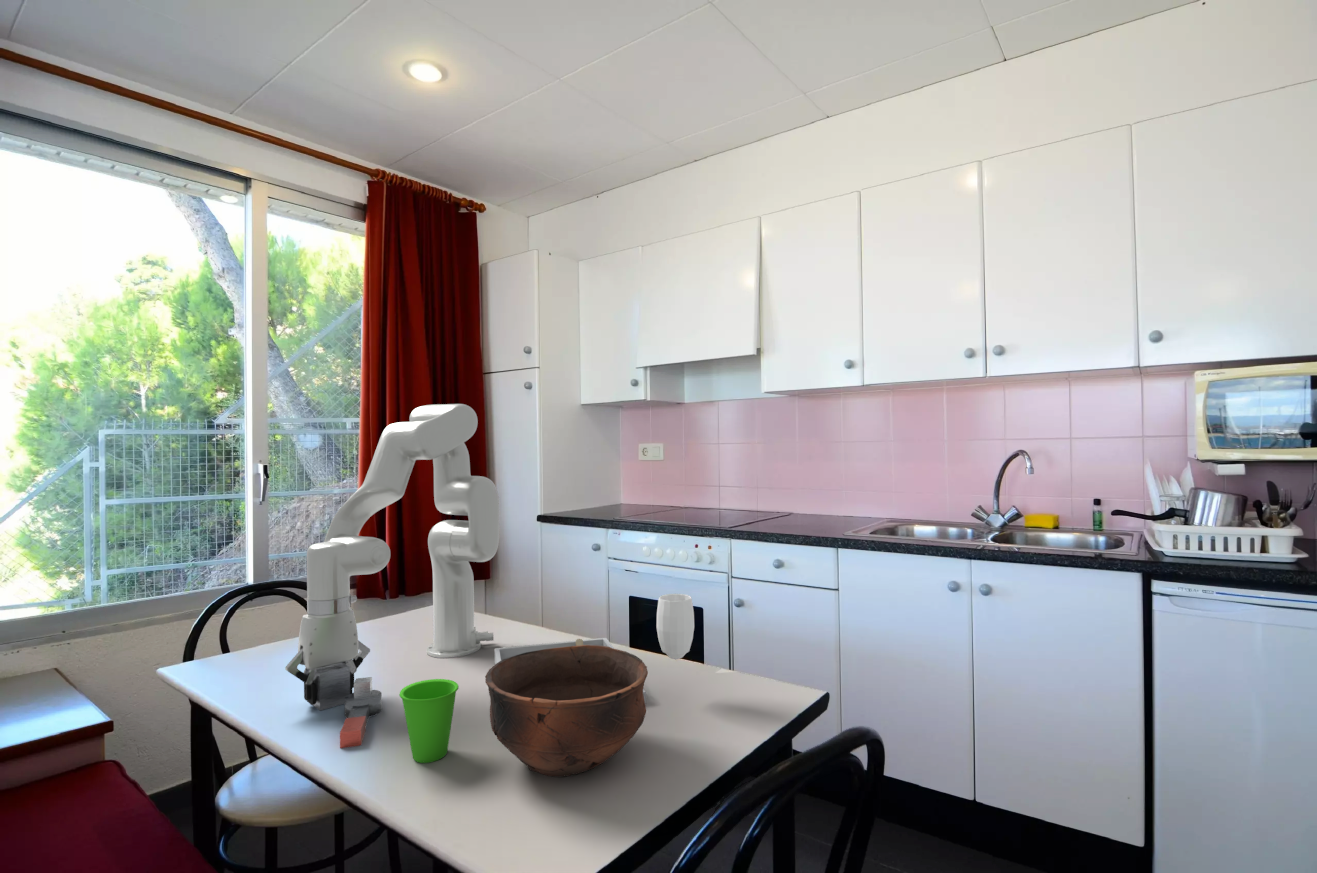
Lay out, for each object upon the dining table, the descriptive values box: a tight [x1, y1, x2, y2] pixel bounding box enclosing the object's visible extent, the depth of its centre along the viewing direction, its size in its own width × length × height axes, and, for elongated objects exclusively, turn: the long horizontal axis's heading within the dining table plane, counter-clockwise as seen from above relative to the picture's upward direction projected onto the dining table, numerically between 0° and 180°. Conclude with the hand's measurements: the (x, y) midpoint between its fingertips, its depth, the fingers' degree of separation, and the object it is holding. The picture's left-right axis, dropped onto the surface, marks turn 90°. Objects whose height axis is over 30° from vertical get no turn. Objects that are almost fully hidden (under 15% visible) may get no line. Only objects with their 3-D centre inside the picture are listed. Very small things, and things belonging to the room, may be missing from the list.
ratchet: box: [339, 676, 383, 749], centre depth 120 cm, size 18×6×6 cm, turn 16°
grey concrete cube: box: [312, 662, 350, 711], centre depth 131 cm, size 6×6×7 cm
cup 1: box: [399, 678, 460, 764], centre depth 108 cm, size 9×9×11 cm
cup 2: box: [655, 593, 695, 661], centre depth 127 cm, size 7×7×21 cm
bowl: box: [484, 645, 649, 778], centre depth 105 cm, size 25×25×15 cm
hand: (329, 696), depth 131 cm, fingers open, 6 cm apart
